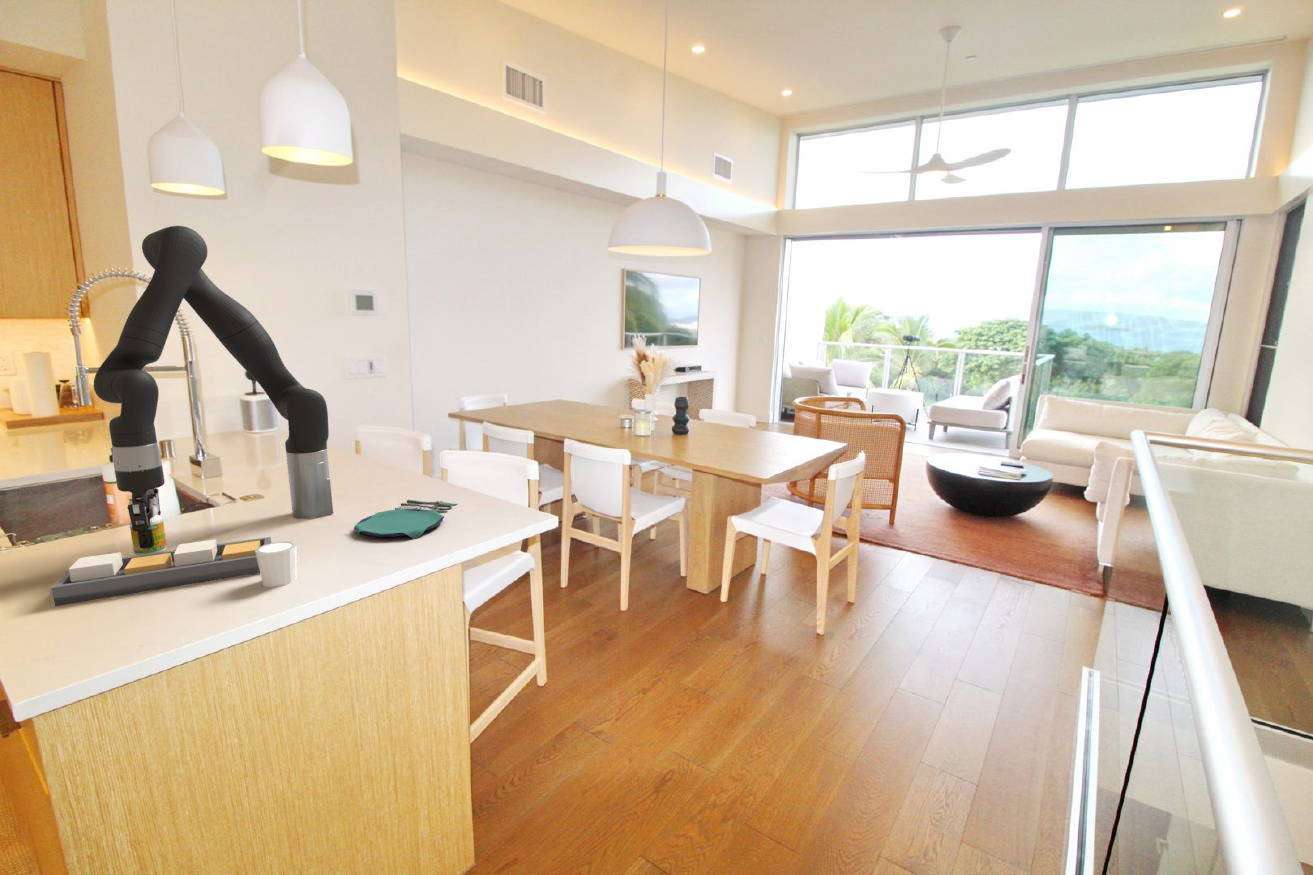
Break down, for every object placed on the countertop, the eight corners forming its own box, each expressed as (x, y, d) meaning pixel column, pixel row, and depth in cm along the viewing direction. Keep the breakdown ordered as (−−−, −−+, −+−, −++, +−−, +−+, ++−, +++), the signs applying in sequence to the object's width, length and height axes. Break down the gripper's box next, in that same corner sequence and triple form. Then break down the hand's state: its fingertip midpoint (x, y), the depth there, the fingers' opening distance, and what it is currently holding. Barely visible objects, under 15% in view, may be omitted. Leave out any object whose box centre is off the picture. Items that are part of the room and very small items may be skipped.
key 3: (172, 564, 120) (170, 552, 120) (166, 575, 115) (164, 563, 115) (134, 570, 117) (132, 558, 117) (126, 581, 112) (124, 569, 112)
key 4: (122, 564, 116) (120, 552, 116) (114, 575, 111) (112, 563, 111) (81, 570, 113) (79, 557, 113) (71, 582, 108) (68, 569, 108)
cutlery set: (338, 540, 139) (338, 530, 139) (402, 504, 169) (402, 496, 169) (421, 544, 138) (420, 535, 138) (470, 507, 168) (470, 499, 167)
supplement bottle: (148, 557, 124) (141, 512, 122) (127, 555, 125) (120, 510, 123) (173, 548, 129) (167, 505, 127) (153, 546, 130) (147, 503, 128)
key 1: (261, 551, 128) (259, 540, 127) (259, 561, 123) (257, 549, 122) (227, 556, 125) (225, 545, 124) (223, 566, 120) (222, 554, 119)
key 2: (217, 550, 124) (215, 539, 123) (213, 560, 119) (211, 549, 118) (180, 556, 121) (179, 544, 120) (175, 566, 116) (173, 554, 115)
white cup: (270, 573, 120) (267, 541, 119) (306, 573, 121) (303, 540, 119) (251, 588, 113) (246, 554, 112) (289, 587, 114) (285, 553, 113)
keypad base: (272, 551, 131) (270, 536, 131) (269, 571, 121) (267, 555, 121) (77, 581, 116) (74, 564, 115) (54, 606, 106) (51, 587, 105)
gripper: (154, 471, 119) (166, 550, 123) (168, 456, 132) (179, 529, 135) (104, 475, 116) (118, 557, 119) (123, 460, 128) (136, 535, 131)
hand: (150, 542), depth 127 cm, fingers closed on supplement bottle, 5 cm apart
